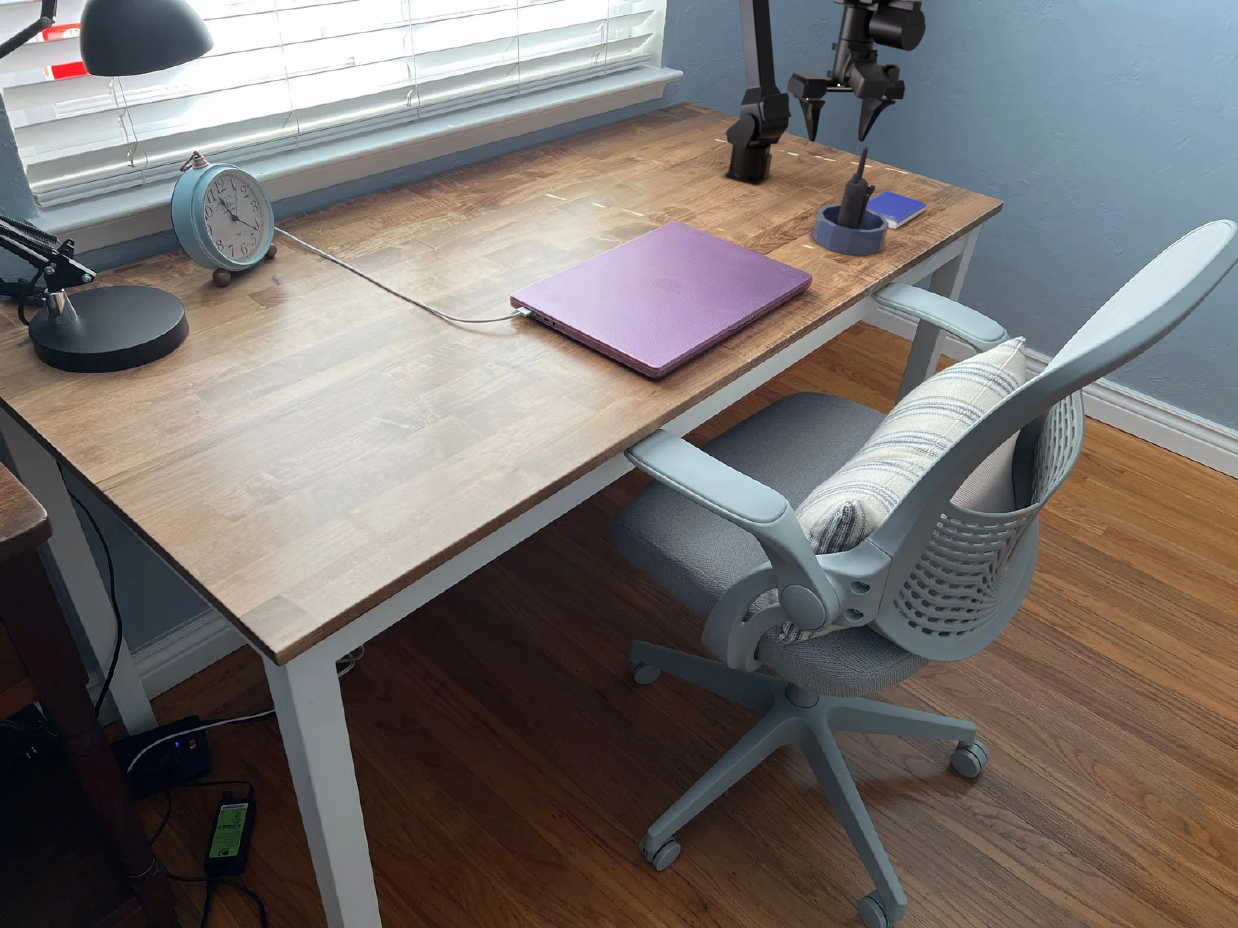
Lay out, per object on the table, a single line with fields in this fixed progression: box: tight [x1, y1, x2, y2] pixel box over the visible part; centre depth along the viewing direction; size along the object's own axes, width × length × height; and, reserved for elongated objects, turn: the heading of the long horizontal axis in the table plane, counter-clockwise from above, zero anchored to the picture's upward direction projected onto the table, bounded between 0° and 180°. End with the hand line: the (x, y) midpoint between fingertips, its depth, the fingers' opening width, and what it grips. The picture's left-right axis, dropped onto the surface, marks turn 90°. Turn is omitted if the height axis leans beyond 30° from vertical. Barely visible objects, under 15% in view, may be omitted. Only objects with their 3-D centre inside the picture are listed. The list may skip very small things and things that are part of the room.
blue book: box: [866, 190, 928, 230], centre depth 167 cm, size 2×8×12 cm
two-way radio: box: [836, 146, 876, 229], centre depth 151 cm, size 6×4×15 cm
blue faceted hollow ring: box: [811, 203, 889, 257], centre depth 155 cm, size 11×11×4 cm
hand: (836, 141), depth 157 cm, fingers open, 9 cm apart
